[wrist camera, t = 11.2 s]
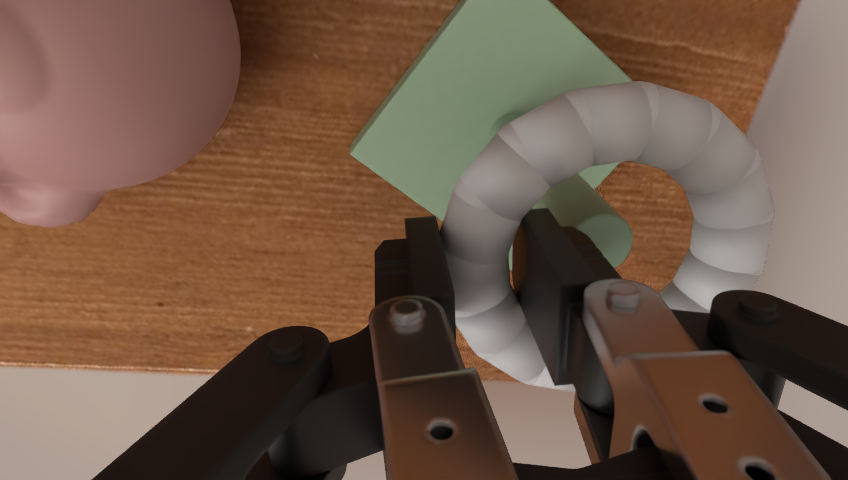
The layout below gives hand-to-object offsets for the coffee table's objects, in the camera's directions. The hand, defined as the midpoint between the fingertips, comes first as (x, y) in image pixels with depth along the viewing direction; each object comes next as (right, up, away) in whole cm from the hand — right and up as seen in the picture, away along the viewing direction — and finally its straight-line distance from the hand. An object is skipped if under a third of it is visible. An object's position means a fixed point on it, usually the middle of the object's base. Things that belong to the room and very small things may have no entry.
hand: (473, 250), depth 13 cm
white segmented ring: (+3, 0, 0) cm, 3 cm away
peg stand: (+2, +5, +10) cm, 12 cm away
